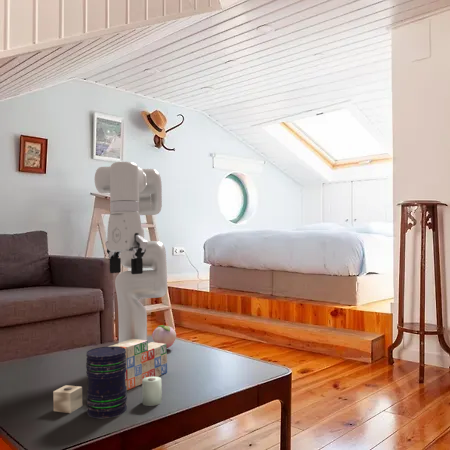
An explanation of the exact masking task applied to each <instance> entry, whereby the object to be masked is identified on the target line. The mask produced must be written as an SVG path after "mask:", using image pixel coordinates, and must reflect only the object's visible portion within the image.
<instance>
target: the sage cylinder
mask: <svg viewBox="0 0 450 450" xmlns="http://www.w3.org/2000/svg"><path fill="white" fill-rule="evenodd" d="M162 395H163V393H162V377H160V376H158V377H146V378H144V379H142V384H141V396H142V399H141V400H142V401H141V402H142V405H143V406H145V407H154V406H158V405H161V404H162V402H163V401H162Z"/></svg>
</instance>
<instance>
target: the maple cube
mask: <svg viewBox="0 0 450 450" xmlns="http://www.w3.org/2000/svg"><path fill="white" fill-rule="evenodd" d="M52 393H53V394H52V396H53V397H52V398H53V412H58V413H66V414H72V413H73V412H75V411H76V410H78V409H80V408H81V407H83V386H79V385H78V386H77V385H76V386H75V385H67V384H65V385H63V386H62V387H59V388H57V389H56V390H53V392H52Z"/></svg>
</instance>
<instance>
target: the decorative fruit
mask: <svg viewBox="0 0 450 450" xmlns="http://www.w3.org/2000/svg"><path fill="white" fill-rule="evenodd" d="M151 337H152V338H151V339H152V342H155V343H163V344H166V350H167V349H169V348H171V346H173V345H174V343H175V342H176V339H177V333H176V331H175V329H174V328H173V327H172V326H169V325H165V324H163V325H157V326H156V328H154V330H153V332H152V335H151Z"/></svg>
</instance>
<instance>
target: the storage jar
mask: <svg viewBox="0 0 450 450" xmlns="http://www.w3.org/2000/svg"><path fill="white" fill-rule="evenodd" d="M125 354H126V349H125V348H123V347H116V346H112V345H108V346H101V347H100V346H99V347H96V348H92V349H89V350H87V351H86V355H85V356H86V364H85V368H86V376H87V391H86V405H87V410H86V411H87V414H86V415H88V417H90V418H94V419H109V418H114V417H118V416H120V415H121V416H122V415H123V414H124V413H125V412H126V411H127V410H128V409H127V408H128V407H127V402H128V401H127V400H128V393H127V391H128V390H127V387H126V386H125V373H126V369H127V368H126V355H125Z"/></svg>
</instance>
